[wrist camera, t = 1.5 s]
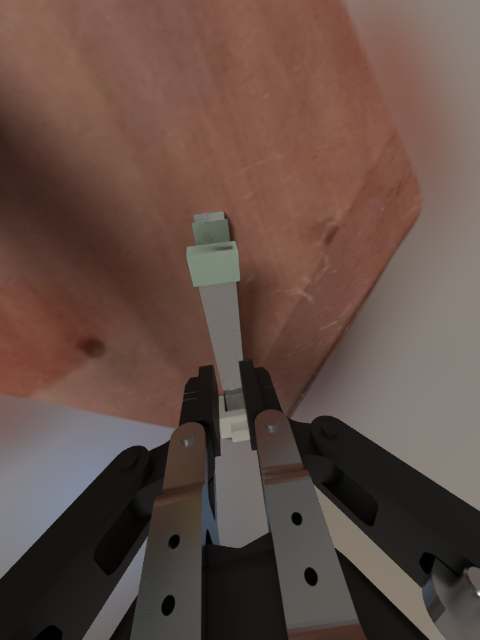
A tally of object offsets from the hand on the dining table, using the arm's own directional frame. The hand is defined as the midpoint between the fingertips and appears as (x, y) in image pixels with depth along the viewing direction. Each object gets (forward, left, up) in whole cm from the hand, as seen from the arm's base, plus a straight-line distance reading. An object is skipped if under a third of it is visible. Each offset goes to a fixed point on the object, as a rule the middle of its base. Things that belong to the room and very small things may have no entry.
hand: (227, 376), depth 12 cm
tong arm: (+3, 0, -11) cm, 12 cm away
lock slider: (+19, 0, -17) cm, 25 cm away
